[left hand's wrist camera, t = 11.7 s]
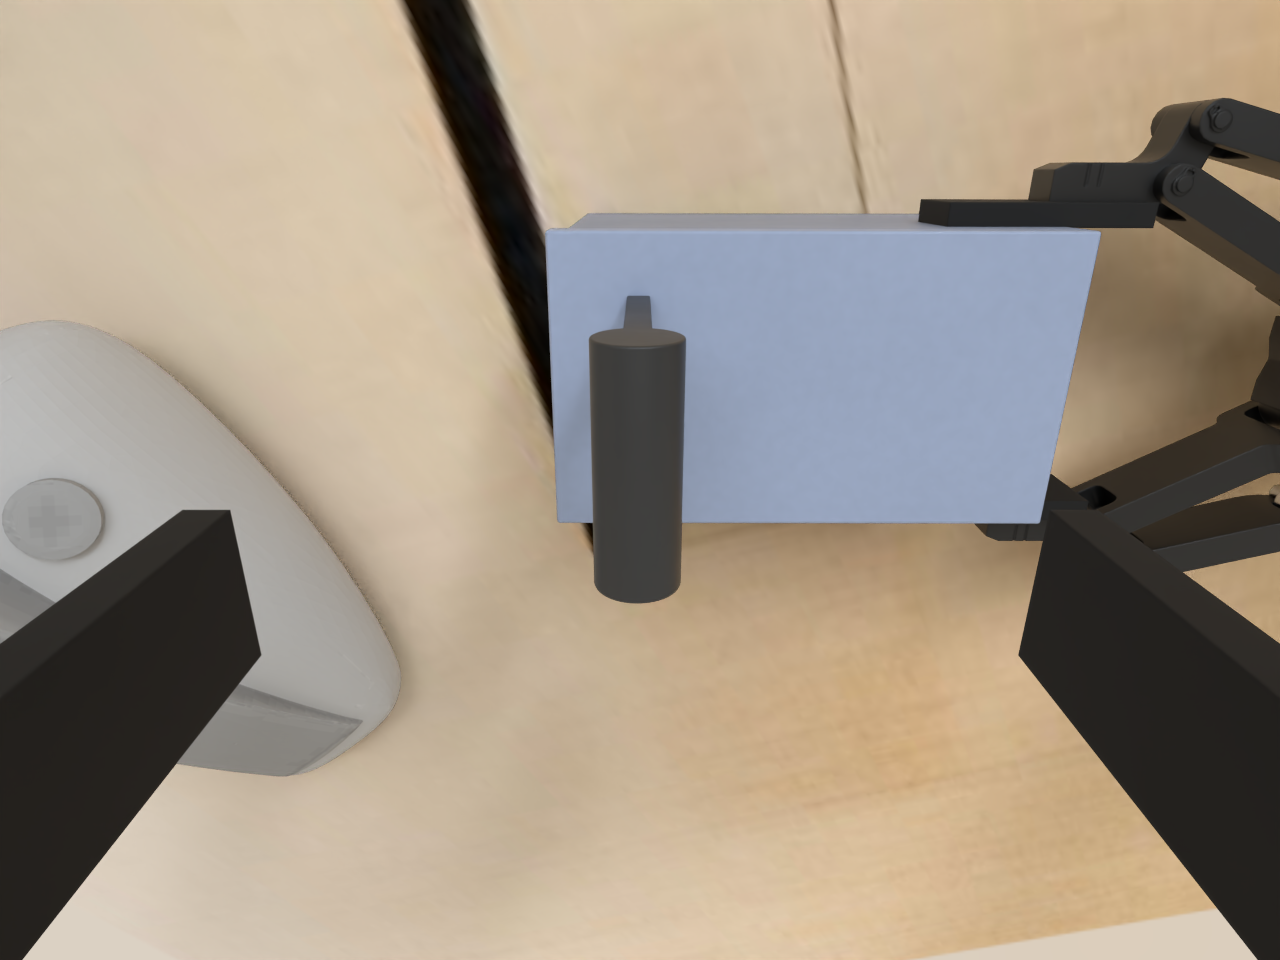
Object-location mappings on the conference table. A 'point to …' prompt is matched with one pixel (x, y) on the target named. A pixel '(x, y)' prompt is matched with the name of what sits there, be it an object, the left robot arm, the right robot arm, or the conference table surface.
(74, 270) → the conference table surface
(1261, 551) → the right robot arm
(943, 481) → the lid
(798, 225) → the chest
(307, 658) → the projector
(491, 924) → the conference table surface
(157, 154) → the conference table surface
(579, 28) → the conference table surface
